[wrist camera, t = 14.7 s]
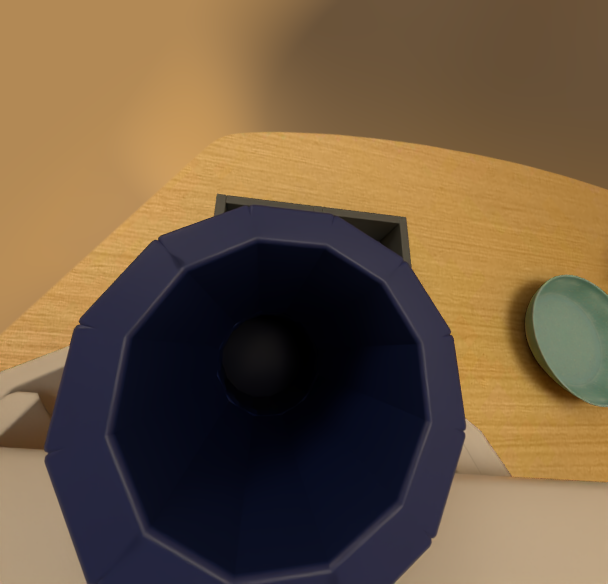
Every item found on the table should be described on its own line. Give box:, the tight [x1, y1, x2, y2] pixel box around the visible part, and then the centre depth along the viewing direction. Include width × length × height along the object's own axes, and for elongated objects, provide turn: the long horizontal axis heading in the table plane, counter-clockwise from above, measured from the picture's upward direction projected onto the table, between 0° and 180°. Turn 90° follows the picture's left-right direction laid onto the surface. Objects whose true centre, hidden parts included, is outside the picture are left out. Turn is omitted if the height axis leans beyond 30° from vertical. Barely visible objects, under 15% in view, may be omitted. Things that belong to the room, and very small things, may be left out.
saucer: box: [525, 275, 608, 407], centre depth 28 cm, size 15×15×3 cm
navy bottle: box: [44, 204, 466, 584], centre depth 9 cm, size 6×6×16 cm
